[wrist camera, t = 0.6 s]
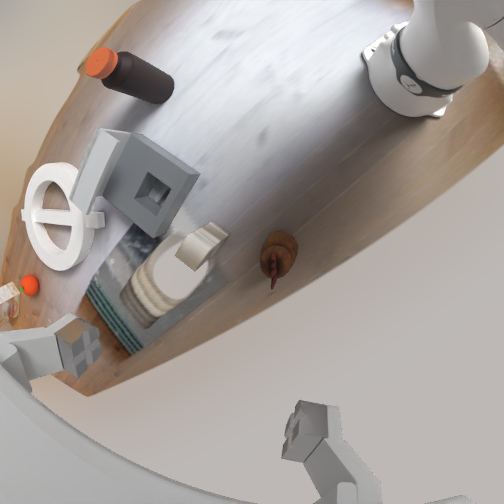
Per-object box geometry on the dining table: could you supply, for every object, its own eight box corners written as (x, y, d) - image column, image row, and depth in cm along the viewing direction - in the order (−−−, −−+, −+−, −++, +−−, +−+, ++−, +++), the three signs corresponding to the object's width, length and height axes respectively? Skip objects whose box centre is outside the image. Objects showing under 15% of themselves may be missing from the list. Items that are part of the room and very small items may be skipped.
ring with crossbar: (27, 212, 62) (16, 215, 58) (62, 141, 53) (49, 141, 49) (70, 283, 65) (59, 289, 60) (113, 218, 56) (100, 223, 51)
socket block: (141, 134, 49) (97, 127, 36) (200, 174, 49) (164, 175, 36) (113, 190, 53) (68, 198, 40) (165, 232, 54) (125, 251, 41)
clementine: (36, 293, 70) (22, 301, 64) (28, 275, 69) (13, 282, 62) (44, 288, 68) (30, 297, 62) (36, 269, 67) (21, 276, 60)
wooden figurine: (289, 268, 51) (283, 304, 37) (260, 257, 51) (243, 289, 37) (302, 234, 49) (301, 260, 35) (272, 223, 49) (258, 244, 35)
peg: (212, 221, 51) (186, 235, 40) (229, 233, 51) (208, 251, 40) (202, 237, 52) (174, 255, 41) (218, 249, 53) (195, 271, 41)
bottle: (141, 99, 47) (75, 78, 28) (156, 71, 44) (94, 40, 26) (165, 108, 46) (99, 86, 28) (181, 79, 44) (122, 44, 25)
